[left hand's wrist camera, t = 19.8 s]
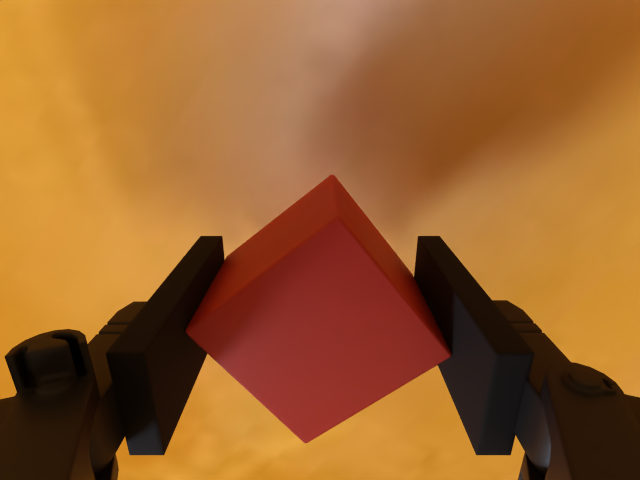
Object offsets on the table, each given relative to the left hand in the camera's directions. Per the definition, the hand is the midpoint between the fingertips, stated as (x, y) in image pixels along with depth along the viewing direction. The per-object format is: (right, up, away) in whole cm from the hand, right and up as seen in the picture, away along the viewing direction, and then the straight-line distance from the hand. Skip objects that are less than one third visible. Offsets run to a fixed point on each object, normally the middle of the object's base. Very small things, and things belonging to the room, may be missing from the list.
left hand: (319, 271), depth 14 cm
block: (0, 0, 0) cm, 0 cm away
